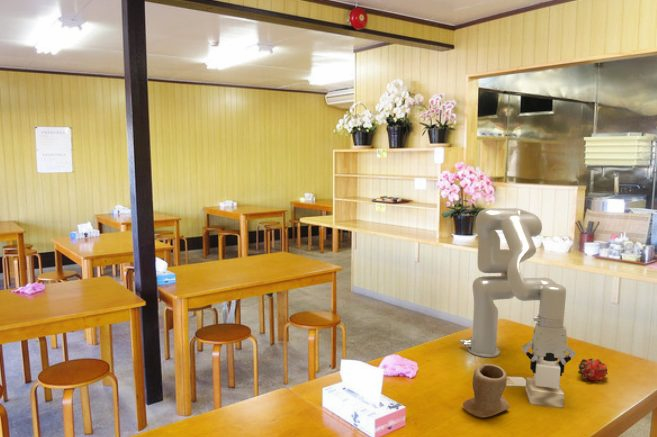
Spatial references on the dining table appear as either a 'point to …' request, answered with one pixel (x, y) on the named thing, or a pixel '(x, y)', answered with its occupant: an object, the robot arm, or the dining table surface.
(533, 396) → the base block
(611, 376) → the dining table surface
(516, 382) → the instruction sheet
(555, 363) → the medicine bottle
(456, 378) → the dining table surface
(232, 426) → the dining table surface
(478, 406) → the stone cup
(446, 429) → the dining table surface
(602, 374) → the dragon fruit
